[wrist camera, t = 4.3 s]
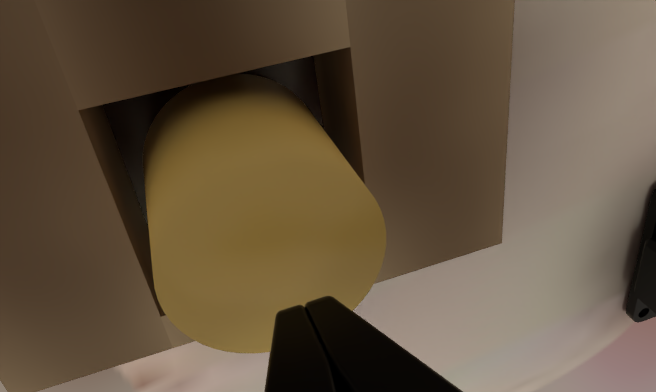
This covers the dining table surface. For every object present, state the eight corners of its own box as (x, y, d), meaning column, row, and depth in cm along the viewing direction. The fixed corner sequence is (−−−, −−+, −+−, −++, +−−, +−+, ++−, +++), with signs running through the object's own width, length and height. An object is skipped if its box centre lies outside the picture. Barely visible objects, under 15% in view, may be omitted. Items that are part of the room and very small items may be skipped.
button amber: (306, 54, 12) (377, 130, 9) (329, 207, 14) (393, 313, 11) (116, 98, 12) (117, 198, 8) (171, 253, 14) (189, 380, 10)
